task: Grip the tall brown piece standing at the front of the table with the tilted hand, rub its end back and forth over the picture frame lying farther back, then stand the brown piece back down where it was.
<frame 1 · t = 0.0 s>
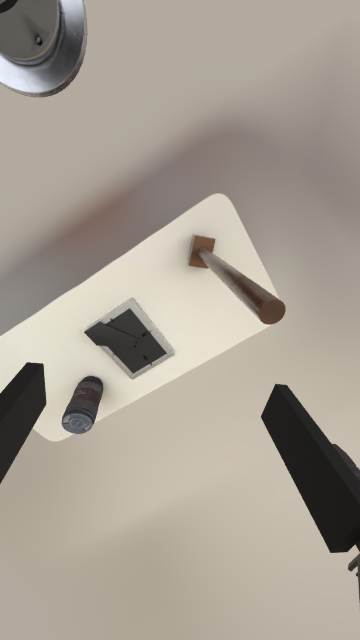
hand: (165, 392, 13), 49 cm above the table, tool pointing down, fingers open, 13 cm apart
picture frame: (132, 339, 67), on the table
brown piece: (199, 250, 57), on the table
camera lens: (92, 384, 72), on the table
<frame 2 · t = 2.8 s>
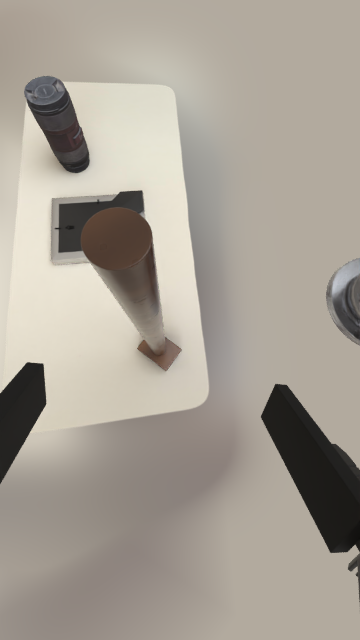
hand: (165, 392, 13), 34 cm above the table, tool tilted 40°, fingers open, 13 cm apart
picture frame: (101, 231, 53), on the table
brown piece: (160, 350, 47), on the table
camera lens: (76, 162, 58), on the table
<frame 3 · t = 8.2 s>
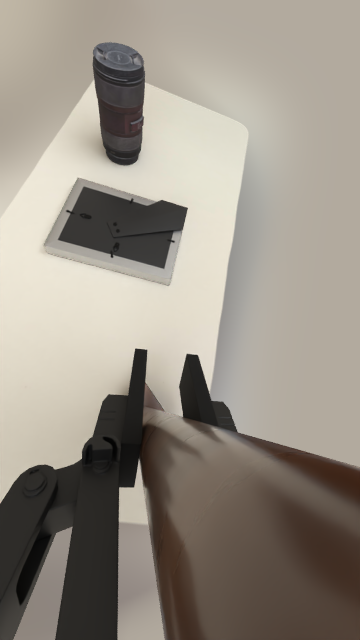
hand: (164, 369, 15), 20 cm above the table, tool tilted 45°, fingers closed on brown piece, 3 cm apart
picture frame: (122, 235, 42), on the table
brown piece: (143, 416, 32), on the table, touching gripper
camera lens: (122, 154, 49), on the table
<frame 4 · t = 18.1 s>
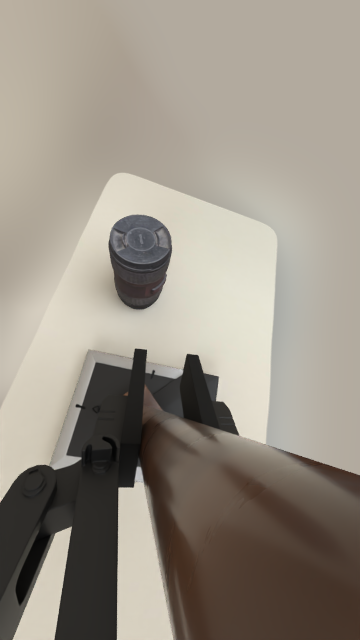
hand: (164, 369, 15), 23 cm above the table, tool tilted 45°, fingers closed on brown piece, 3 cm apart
picture frame: (142, 416, 35), on the table, touching brown piece
brown piece: (140, 414, 32), point 3 cm above the table, touching gripper, picture frame
camera lens: (138, 293, 42), on the table
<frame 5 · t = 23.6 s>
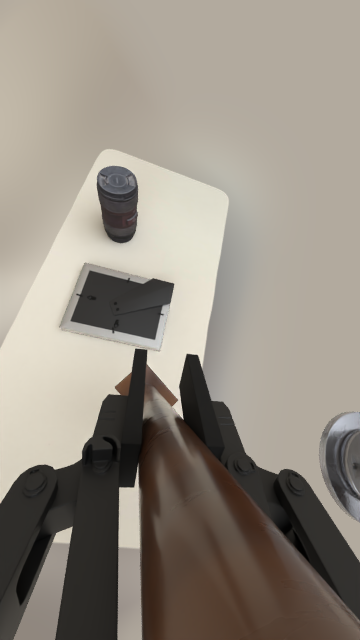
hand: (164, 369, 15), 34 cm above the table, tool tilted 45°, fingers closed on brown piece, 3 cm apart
picture frame: (121, 308, 52), on the table
brown piece: (145, 391, 33), point 14 cm above the table, tilted 8°, touching gripper
camera lens: (120, 232, 58), on the table
when the fingers open (21 cm above the table, at t = 28.5 s): brown piece stays where it is, on the table.
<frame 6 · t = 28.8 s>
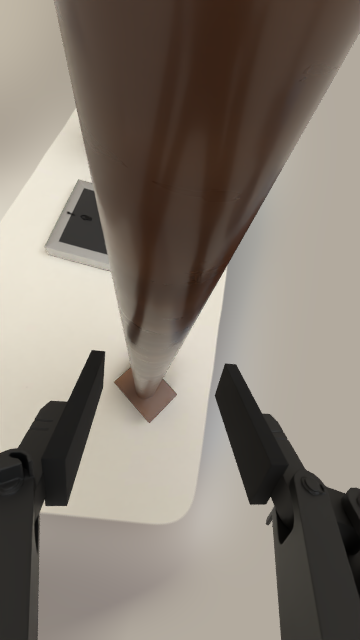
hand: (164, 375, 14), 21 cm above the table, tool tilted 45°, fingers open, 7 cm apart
picture frame: (123, 236, 42), on the table
brown piece: (145, 391, 34), on the table
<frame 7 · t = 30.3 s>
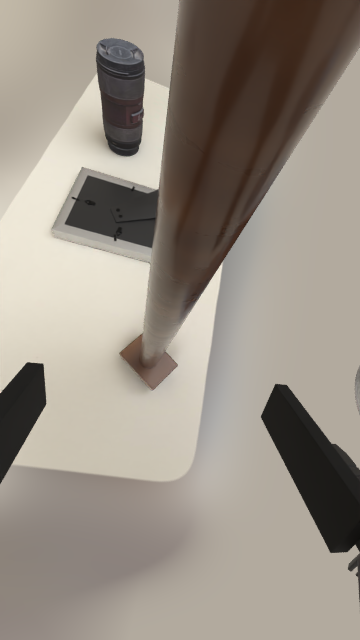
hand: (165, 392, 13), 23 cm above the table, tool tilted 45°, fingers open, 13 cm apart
picture frame: (125, 221, 44), on the table
brown piece: (147, 362, 36), on the table
camera lens: (123, 146, 51), on the table
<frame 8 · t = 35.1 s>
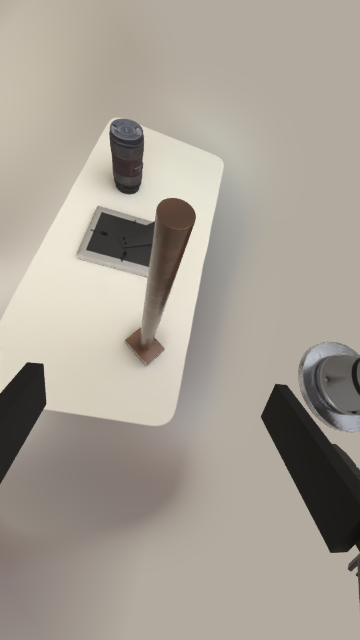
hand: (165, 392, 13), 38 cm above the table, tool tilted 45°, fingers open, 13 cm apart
picture frame: (128, 245, 60), on the table
brown piece: (144, 348, 52), on the table
camera lens: (127, 185, 67), on the table
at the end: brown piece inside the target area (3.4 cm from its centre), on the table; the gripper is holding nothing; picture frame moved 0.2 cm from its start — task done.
